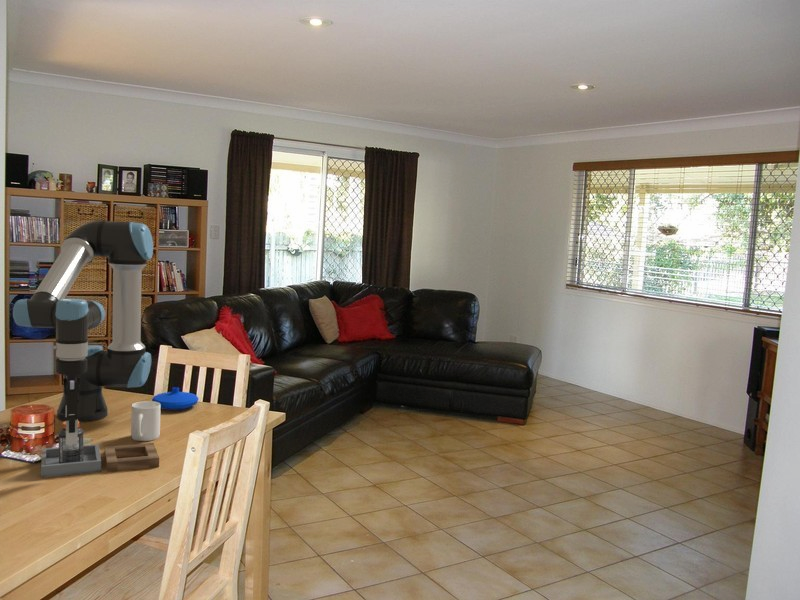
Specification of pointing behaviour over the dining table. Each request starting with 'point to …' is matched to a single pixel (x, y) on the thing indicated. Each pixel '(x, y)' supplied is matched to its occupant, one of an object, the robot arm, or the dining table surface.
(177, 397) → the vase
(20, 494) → the dining table surface
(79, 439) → the pill bottle
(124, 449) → the socket frame
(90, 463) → the tray
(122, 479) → the dining table surface
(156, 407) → the mug
